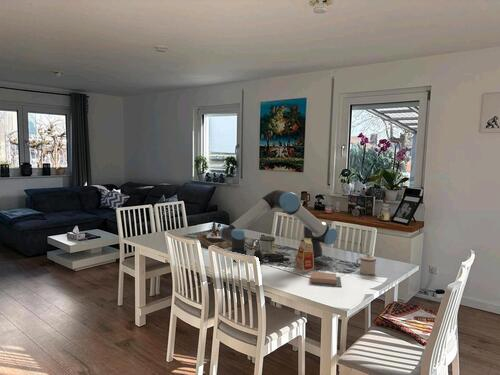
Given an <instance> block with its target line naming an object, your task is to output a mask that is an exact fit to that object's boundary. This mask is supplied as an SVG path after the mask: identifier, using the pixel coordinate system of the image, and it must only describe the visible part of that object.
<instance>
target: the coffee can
mask: <svg viewBox="0 0 500 375" xmlns="http://www.w3.org/2000/svg"><path fill="white" fill-rule="evenodd" d="M259 251H261V252H262V254H265V253H267V254H268V253H273V254H276V253H275V252H276V237H274V236H270V235H269V236H268V235H264V236H260V237H259Z"/></svg>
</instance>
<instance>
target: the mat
mask: <svg viewBox="0 0 500 375" xmlns="http://www.w3.org/2000/svg"><path fill="white" fill-rule="evenodd" d="M336 278H337V284H329V283H317V282H311V286H319V287H320V286H323V287H332V288H334V287H336V288H342V280H341V276H336Z"/></svg>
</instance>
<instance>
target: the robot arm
mask: <svg viewBox="0 0 500 375" xmlns="http://www.w3.org/2000/svg"><path fill="white" fill-rule="evenodd" d="M273 209H278V210H282V211H283V212H284V213H285V214H287V215H288V216H292V217H294V218H295V220H296V219H297V220H298V221H299V222H300V223H301V224H302V225H304V226H303V237H304V238H311V242H312V245H313V254H314V257H320V256H322V255H323V249H322V245H321V243H322V244H325V245H328V246H331V245H334V244H335V243H336V241H337V239H338V230H337V229H336V228H335V227H331V226H330V225H328V224H327V223H326V222H324V221H320V220H319V219H318V218H317V217H316V216H315V215H314V214H312V213H311V212H310V211H309V210H308V209H306V208H305V207H304V206H303V205H302V201H300V198H299V196H298V194H297V193H294V192H291V191H285V190H280V189H275V190H272V191H270V192H269V193H267V194H266V195H264V196H263V197H261V198H260V199H259V201H258V203H256V204H255V205H254V206H253V207H251V208H250V209H249V210H248V211H247V212H245V213H244V214H242V215H241V216H240V217H239V218H238V219H236V220H235V221H234V222H232V223H231V224H230V225H229V226H228V225H227V227H223V226H222V227H221V228H222V229H221V230H220V232H219V235H220V237H221V238H222V239H224V240H226V241H228V242H230V243H232V247H231V248H229V249H228V251H232V252H237V253H241V254H245V255H250V256H256V257H258V258H259V261H260V264H259V265H261V263H262V262H264V263H265V264H271V263H272V264H273V263H274V264H277V263H279V264H280V263H281V264H284V262H287V263H290V262H291V263H296V256H287V255H286V256H285V254H281V253H280V254H278V253H275V254H273V253H268V254H267V253H265V254H262V252H261V251H260V250H253V249H245V245H244V243H245V244H246V239H245V237H246V236H245V235H246V234H245V229H247V227H249V226H250V225H251V224H252V223H254V222H255V221H257V220H258V219H259V218H260V217H262V216H263V215H264V214H265V213H266V212H271V211H272V210H273ZM228 251H227V252H228ZM227 260H228V259H227ZM228 262H230V261H229V260H228ZM232 263H237V262H236V261H235V260H233V262H232Z"/></svg>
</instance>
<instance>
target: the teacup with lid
mask: <svg viewBox="0 0 500 375" xmlns="http://www.w3.org/2000/svg"><path fill="white" fill-rule="evenodd" d="M359 261H360V264H359ZM376 261H377V259H376V257H374V256H372V255H371V253H366V254H364V255H361V256H360V258H357V259H356V265H357V267H359V272H360V273H361V274H363V275H368V274H371V275H374V274H375V273H376Z"/></svg>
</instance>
